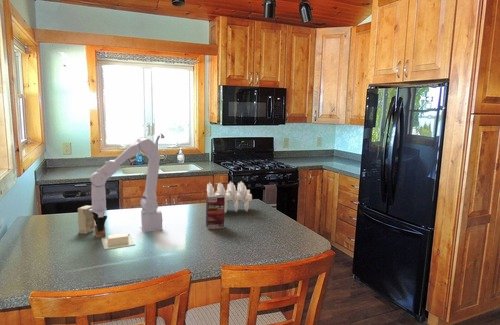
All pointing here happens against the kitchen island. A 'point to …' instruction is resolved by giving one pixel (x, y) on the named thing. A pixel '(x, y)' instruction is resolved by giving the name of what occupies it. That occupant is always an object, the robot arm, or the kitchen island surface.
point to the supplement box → (215, 211)
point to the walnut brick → (101, 233)
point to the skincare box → (85, 220)
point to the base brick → (117, 239)
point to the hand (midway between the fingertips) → (99, 228)
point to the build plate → (106, 246)
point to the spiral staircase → (232, 194)
